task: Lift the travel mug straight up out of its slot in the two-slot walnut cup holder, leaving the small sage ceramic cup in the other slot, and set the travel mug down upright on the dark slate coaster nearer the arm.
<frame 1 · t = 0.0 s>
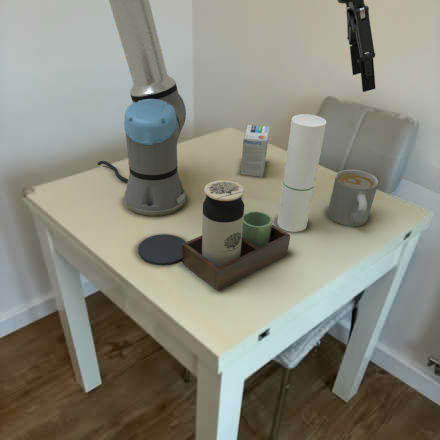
hand: (363, 81, 107), 28 cm above the table, tool tilted 20°, fingers open, 13 cm apart
cup holder: (235, 258, 98), on the table
travel mug: (220, 266, 96), resting in cup holder
sage cup: (253, 249, 101), resting in cup holder
coffee mug: (347, 219, 113), on the table
cylindrical container: (291, 224, 110), on the table
light bulb box: (253, 168, 133), on the table
slate coaster: (163, 250, 100), on the table
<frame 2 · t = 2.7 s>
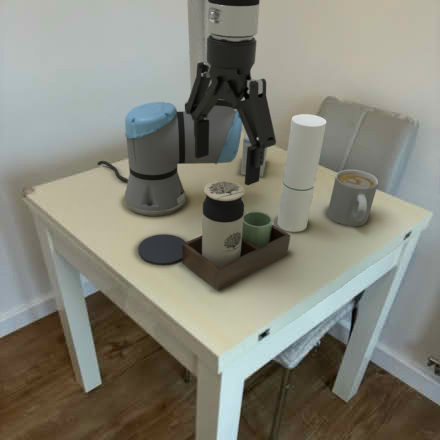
hand: (225, 169, 82), 22 cm above the table, tool pointing down, fingers open, 13 cm apart
nothing on the table moved.
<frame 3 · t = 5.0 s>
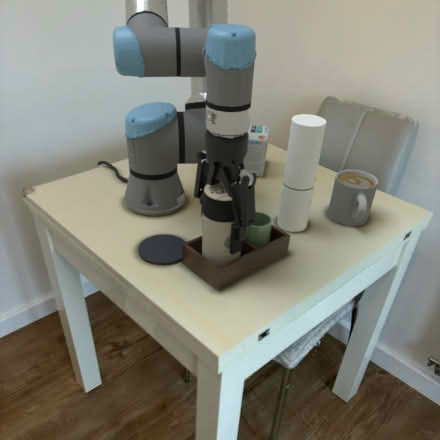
hand: (221, 241, 92), 6 cm above the table, tool pointing down, fingers closed on travel mug, 8 cm apart
travel mug: (220, 266, 96), resting in cup holder, touching gripper
everything else where it was.
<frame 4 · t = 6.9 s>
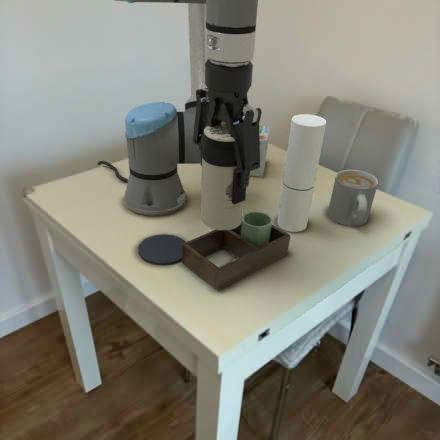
hand: (223, 192, 85), 17 cm above the table, tool pointing down, fingers closed on travel mug, 8 cm apart
travel mug: (221, 221, 89), point 11 cm above the table, touching gripper
everything else where it was.
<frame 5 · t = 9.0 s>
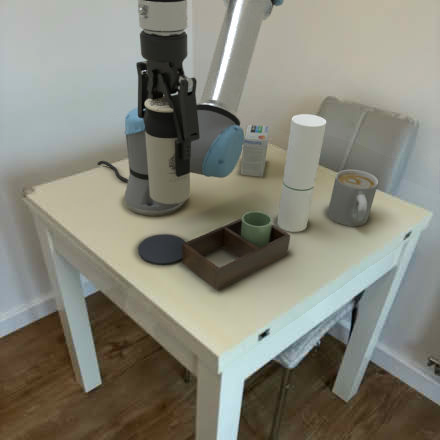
hand: (168, 165, 86), 20 cm above the table, tool pointing down, fingers closed on travel mug, 8 cm apart
travel mug: (170, 196, 90), point 14 cm above the table, touching gripper
everything else where it was.
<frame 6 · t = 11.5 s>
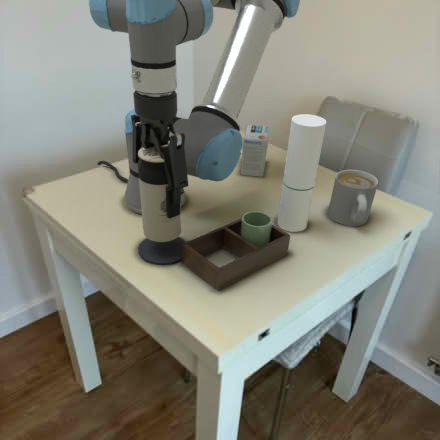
hand: (161, 207, 93), 11 cm above the table, tool pointing down, fingers closed on travel mug, 8 cm apart
travel mug: (162, 233, 97), point 4 cm above the table, touching gripper
everything else where it was.
when the fingers open (7 cm above the table, at t = 13.1 s): travel mug stays where it is, resting on slate coaster.
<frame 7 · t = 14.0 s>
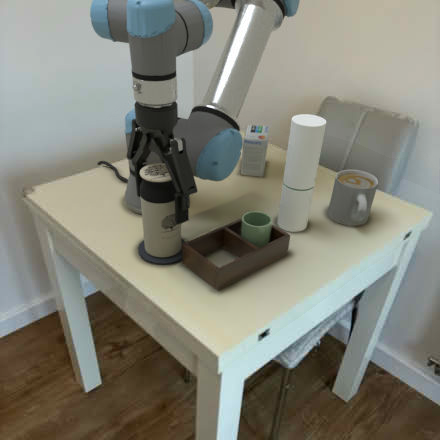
hand: (162, 207, 93), 10 cm above the table, tool pointing down, fingers open, 13 cm apart
travel mug: (163, 248, 99), resting on slate coaster
everything else where it was.
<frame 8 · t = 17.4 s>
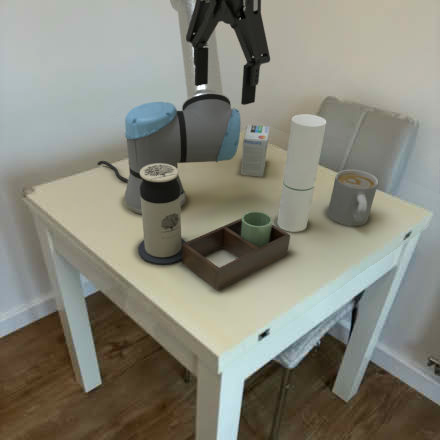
hand: (223, 93, 87), 31 cm above the table, tool pointing down, fingers open, 13 cm apart
nothing on the table moved.
at the end: travel mug 0.1 cm off-centre on the slate coaster, point 0.4 cm above the slate coaster's base; travel mug tilted 0°; sage cup moved 0.0 cm from its start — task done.
